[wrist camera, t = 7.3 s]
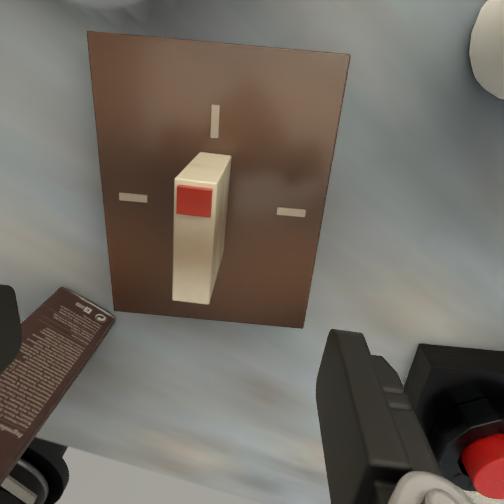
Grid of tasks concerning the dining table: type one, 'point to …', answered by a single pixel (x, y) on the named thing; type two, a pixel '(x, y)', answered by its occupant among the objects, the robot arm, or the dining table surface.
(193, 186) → the cream slab
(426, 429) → the housing
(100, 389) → the dining table surface
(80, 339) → the box
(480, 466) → the button
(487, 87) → the cup
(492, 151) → the dining table surface
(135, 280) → the panel
